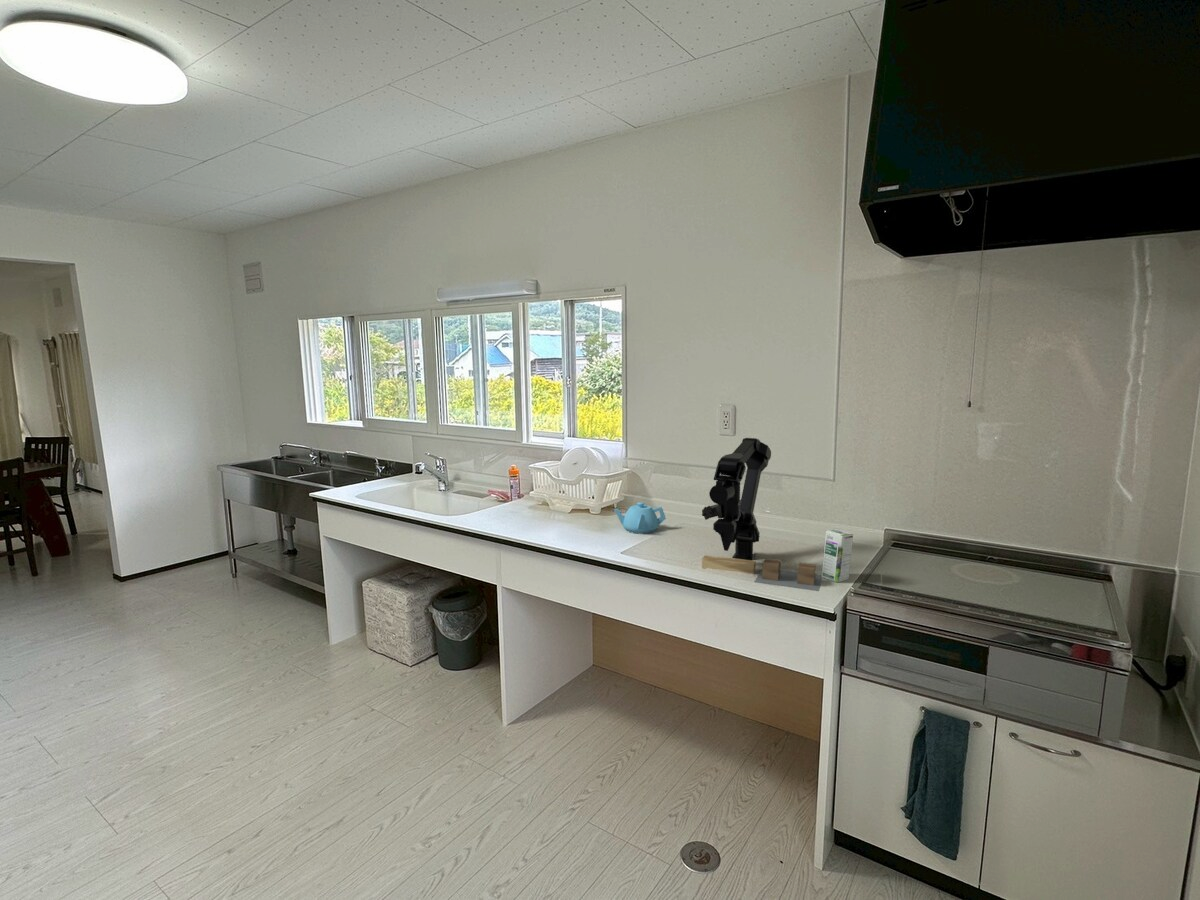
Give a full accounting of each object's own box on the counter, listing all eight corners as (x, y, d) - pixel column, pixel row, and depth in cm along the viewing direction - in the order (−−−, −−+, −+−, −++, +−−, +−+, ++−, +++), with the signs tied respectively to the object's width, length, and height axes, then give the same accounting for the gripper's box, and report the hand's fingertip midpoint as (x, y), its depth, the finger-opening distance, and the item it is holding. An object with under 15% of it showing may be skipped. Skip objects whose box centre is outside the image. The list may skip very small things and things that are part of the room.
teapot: (641, 537, 228) (641, 509, 226) (612, 529, 239) (612, 502, 237) (667, 529, 238) (668, 502, 237) (639, 522, 249) (639, 496, 248)
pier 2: (799, 578, 183) (799, 562, 182) (815, 580, 181) (815, 564, 180) (797, 583, 178) (797, 567, 178) (813, 585, 177) (814, 569, 176)
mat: (762, 568, 193) (762, 567, 192) (822, 576, 185) (822, 575, 185) (754, 583, 180) (754, 582, 180) (818, 592, 173) (818, 591, 173)
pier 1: (764, 574, 187) (765, 558, 186) (780, 576, 185) (780, 560, 184) (762, 578, 183) (762, 562, 182) (777, 580, 181) (778, 564, 180)
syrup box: (820, 577, 184) (825, 530, 181) (832, 573, 187) (837, 527, 185) (837, 583, 179) (842, 535, 177) (849, 579, 182) (854, 532, 180)
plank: (704, 565, 197) (704, 555, 196) (755, 571, 191) (755, 560, 190) (701, 569, 193) (702, 558, 193) (753, 575, 187) (753, 564, 187)
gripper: (712, 489, 200) (711, 535, 203) (696, 501, 184) (696, 551, 186) (746, 492, 196) (745, 539, 198) (734, 505, 179) (732, 556, 181)
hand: (729, 546), depth 191 cm, fingers open, 9 cm apart
